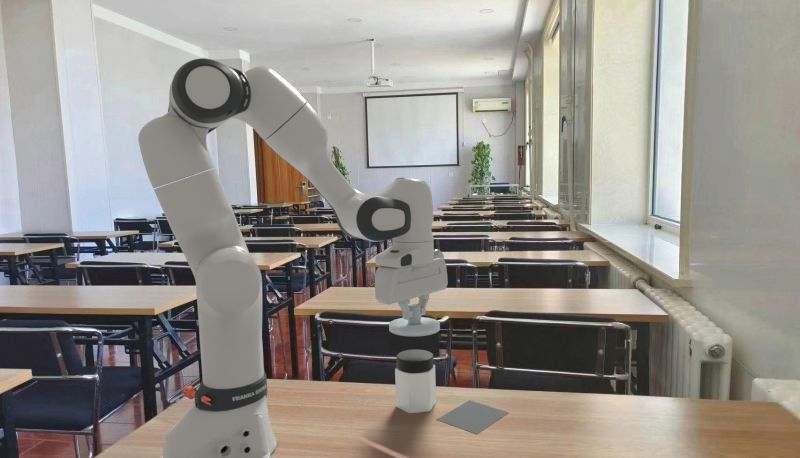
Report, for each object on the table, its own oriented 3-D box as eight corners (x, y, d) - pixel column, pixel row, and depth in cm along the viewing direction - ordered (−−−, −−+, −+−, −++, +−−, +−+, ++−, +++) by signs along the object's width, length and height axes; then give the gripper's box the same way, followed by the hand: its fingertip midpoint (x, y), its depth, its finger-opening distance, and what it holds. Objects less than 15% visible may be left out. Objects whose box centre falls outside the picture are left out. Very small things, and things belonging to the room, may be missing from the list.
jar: (443, 408, 116) (442, 355, 115) (415, 420, 111) (414, 365, 110) (417, 396, 123) (415, 346, 122) (389, 406, 118) (387, 354, 117)
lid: (417, 339, 107) (417, 314, 107) (378, 330, 114) (378, 306, 114) (450, 327, 115) (449, 304, 115) (411, 319, 122) (411, 297, 122)
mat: (476, 438, 103) (476, 434, 103) (436, 423, 109) (436, 419, 109) (508, 416, 112) (508, 412, 111) (469, 403, 118) (469, 400, 118)
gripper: (432, 247, 123) (432, 305, 124) (369, 258, 108) (370, 324, 109) (453, 249, 119) (454, 309, 120) (391, 260, 104) (393, 329, 105)
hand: (414, 316), depth 115 cm, fingers closed on lid, 3 cm apart
